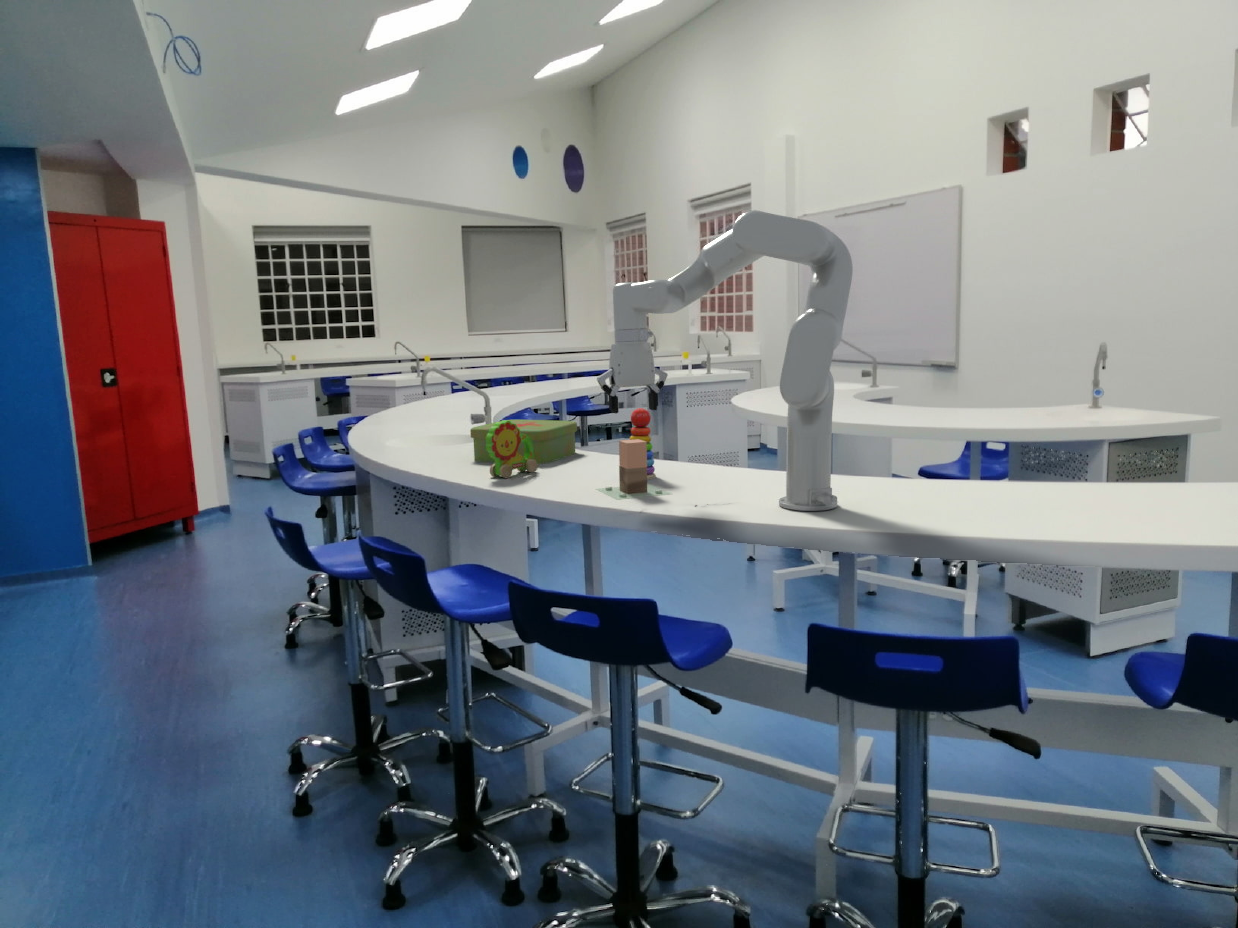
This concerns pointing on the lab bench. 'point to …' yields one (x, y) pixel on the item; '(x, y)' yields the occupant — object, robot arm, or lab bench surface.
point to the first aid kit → (533, 439)
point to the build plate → (618, 494)
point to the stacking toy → (643, 436)
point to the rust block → (633, 454)
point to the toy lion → (509, 450)
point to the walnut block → (633, 480)
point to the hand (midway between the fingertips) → (634, 411)
